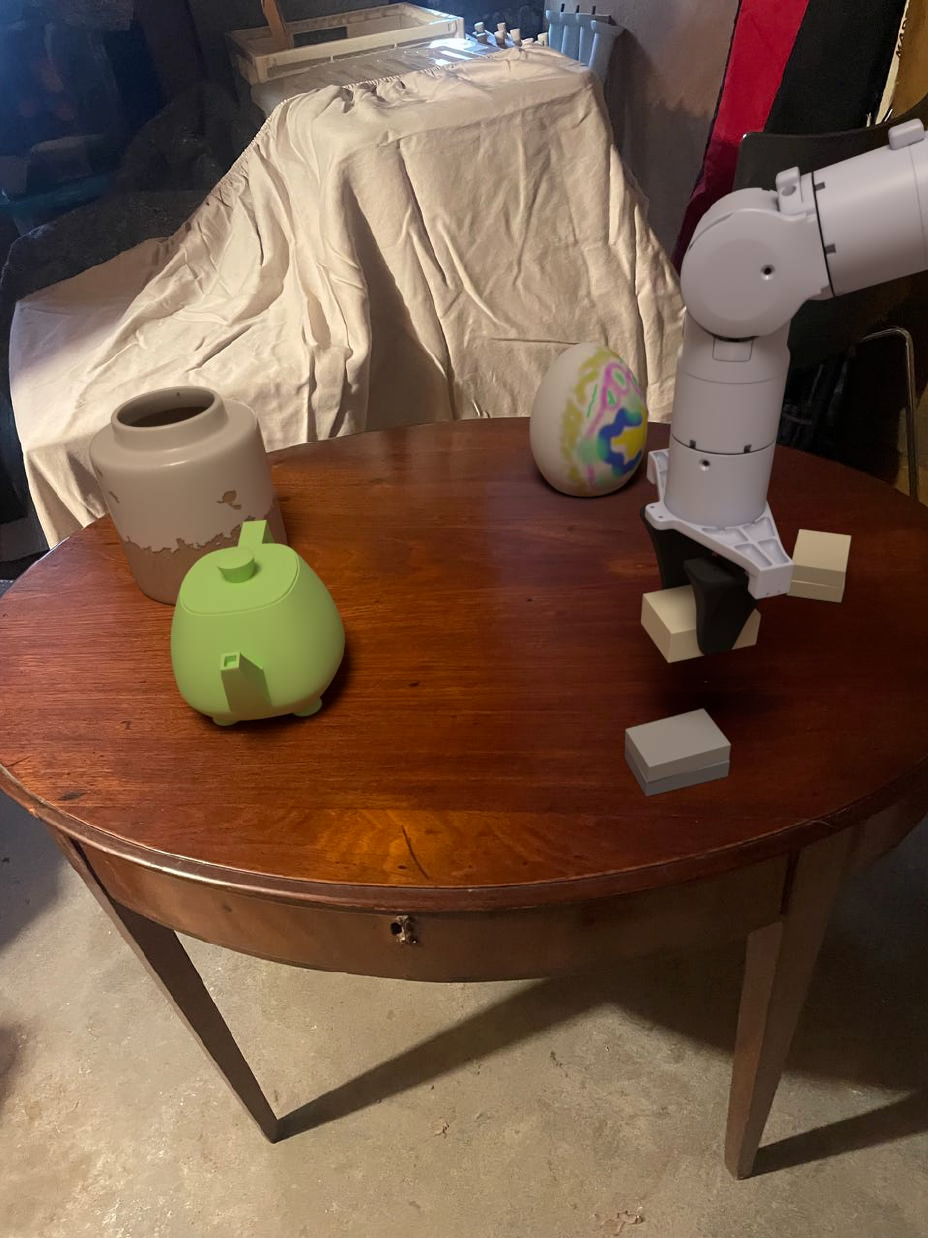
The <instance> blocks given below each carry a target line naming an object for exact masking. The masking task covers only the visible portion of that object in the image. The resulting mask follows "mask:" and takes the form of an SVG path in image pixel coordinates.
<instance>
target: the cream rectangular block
mask: <svg viewBox="0 0 928 1238" xmlns="http://www.w3.org/2000/svg"><path fill="white" fill-rule="evenodd" d="M642 594H643V595H642V603H641V615H640V616H641V617H640V618H641V619H640V624H641V626H642V627H643V628H644V630H645V631H646V632H647V634H648V635H649V637H650V638H651V640H652V642H653V643H654V644H655V646H656V647H657V648H658V650H659V652H660V653H661V655H662V656H663V657H664V659H665V660H666V661H667V663H669V664H671V663H675V662H679V661H685V660H689V659H694V658H698V657H703V656H705V655H703V654H702V653H701V651H700V650H699V647H698V643H697V635H696V603H695V597H694V592H693V588H692V585H686V586H681V587H676V588H671V589H666V590H662V589H661V590H656V591H651V592H647V593H642ZM761 617H762V615H761V613H760V612H759V611H758V610H757V609H756V608H755V609H754V611H753V612H752V614H751V615H750V617H749V619H748V620H747V622H746V624H745V626H744V628H743V629H742V631H741V633H740V635H739V637H738V639H737V641H736V643H735V645H734V647H733V648H732V650H736V649H741V648H745V647H746V648H747V647H750V646H755V645H756V644H757V639H758V633H759V628H760V622H761Z"/></svg>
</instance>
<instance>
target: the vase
mask: <svg viewBox="0 0 928 1238" xmlns="http://www.w3.org/2000/svg"><path fill="white" fill-rule="evenodd" d="M88 456H89V461H90V464H91V466H92V470H93V472H94V475H95V477H96V480H97V483H98V486H99V488H100V491H101V493H102V496H103V499H104V502H105V504H106V507H107V510H108V513H109V515H110V518H111V521H112V522H113V526H114V528H115V531H116V534H117V537H118V540H119V541H120V544H121V547H122V550H123V552H124V555H125V557H126V560H127V564H128V565H129V569H130V571H131V574H132V577H133V579H134V581H135V583H136V585H137V587H138V588H139V590H140V591H141V592H142V593H143V594H145V595H146V596H147V597H149V598H150V599H151V600H154V601H156V602H159V603H161V604H162V603H163V604H167V605H173V606H176V602H177V598H178V594H179V591H180V588H181V585H182V582H183V580H184V578H185V576H186V575H187V573H188V572H189V570H190V569H191V568H192V566H193V565H194V564H195V563H196V562H197V561H198V560H200V559H201V558H202V557H204V556H205V555H207V554H209V553H211V552H214V551H217V550H221V549H226V548H231V547H237V546H238V543H239V539H240V534H241V530H242V526H243V522H250V521H261V520H267V523H268V526H269V529H270V532H271V534H272V537H273V540H274V543H275V544H282V545H285V546H288V547H289V544H288V538H287V533H286V529H285V524H284V521H283V515H282V513H281V508H280V503H279V499H278V496H277V491H276V487H275V483H274V479H273V474H272V470H271V466H270V462H269V458H268V454H267V449H266V446H265V442H264V438H263V433H262V429H261V425H260V422H259V418H258V416H257V415H256V413H255V411H254V410H253V409H252V408H251V407H250V406H248V405H247V404H245V403H244V402H242V401H239V400H236V399H231V398H225V397H222V395H221V394H220V393H219V392H218V391H216V390H215V389H213V388H211V387H206V386H201V385H177V386H170V387H164V388H159V389H155V390H154V389H153V390H151V391H148V392H145V393H141V394H139V395H136V396H134V397H132V398H129V399H127V400H126V401H125V402H123V403H121V404H120V405H119V406H118V407H115V409H114V410H113V412H112V413H111V415H110V422H109V423H108V424H106V425H105V426H104V427H102V428H101V429H100V430H98V432H97V433H96V434H95V435H94V436H93V437H92V439H91V441H90V443H89V446H88Z"/></svg>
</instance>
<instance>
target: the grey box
mask: <svg viewBox="0 0 928 1238" xmlns="http://www.w3.org/2000/svg"><path fill="white" fill-rule="evenodd" d="M624 730H625V733H624V734H625V735H624V736H625V738H624V739H625V740H624V760H625V762H626V763H627V766H628V767H629V769H630V771H631V772H632V774H633V776H634V778H635V779H636V782H637V784H638V785H639V787H640V789H641V791H642V792H643V794H644V796H645V798H646V797H650V796H656V795H659V794H662V793H663V794H664V793H667V792H671V791H675V790H679V789H683V788H686V787H691V786H696V785H699V784H702V783H707V782H711V781H715V780H718V779H719V780H720V779H723V778H727V777H729V771H730V763H731V761H730V753H731V746H732V744H731V743H730V742H729V740H728V738H727V737H726V736H725V734H724V733H723V732H722V731H721V730H720V728H719V727H718V726H717V724H716V723H715V721H714V720H713V719H712V718H711V716H710V715H709V714H708V712H707V711H706V710H705V708H699V709H696V710H693V711H688V712H685V713H684V712H683V713H681V714H677V715H674V716H670V717H669V716H668V717H665V718H662V719H658V720H654V721H651V722H648V723H643V724H639V725H637V726H632V727H629V728H626V729H624Z"/></svg>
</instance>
